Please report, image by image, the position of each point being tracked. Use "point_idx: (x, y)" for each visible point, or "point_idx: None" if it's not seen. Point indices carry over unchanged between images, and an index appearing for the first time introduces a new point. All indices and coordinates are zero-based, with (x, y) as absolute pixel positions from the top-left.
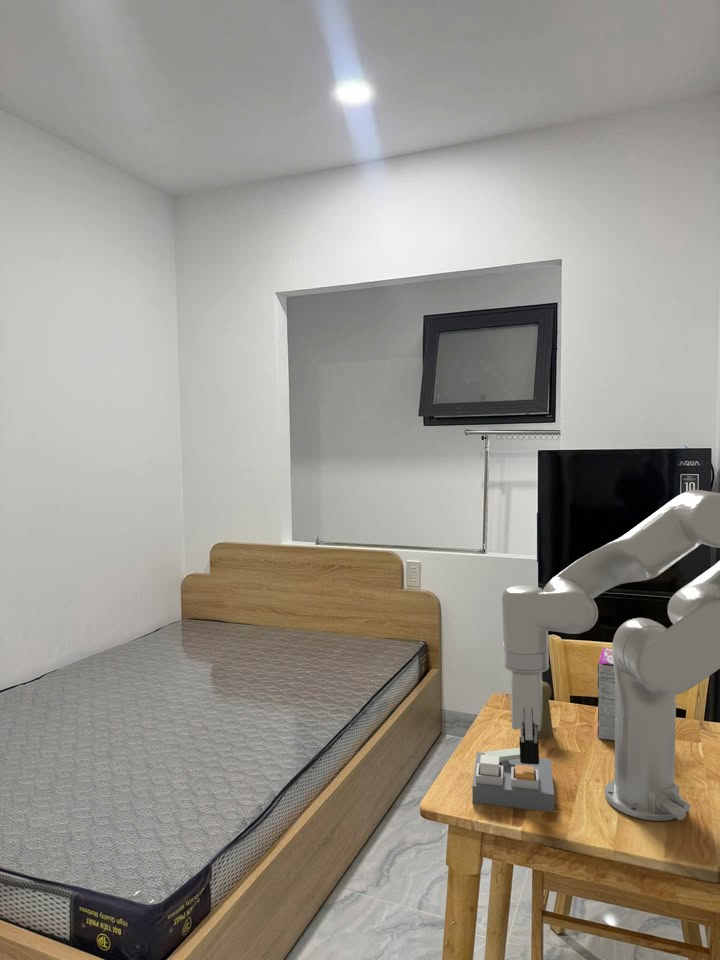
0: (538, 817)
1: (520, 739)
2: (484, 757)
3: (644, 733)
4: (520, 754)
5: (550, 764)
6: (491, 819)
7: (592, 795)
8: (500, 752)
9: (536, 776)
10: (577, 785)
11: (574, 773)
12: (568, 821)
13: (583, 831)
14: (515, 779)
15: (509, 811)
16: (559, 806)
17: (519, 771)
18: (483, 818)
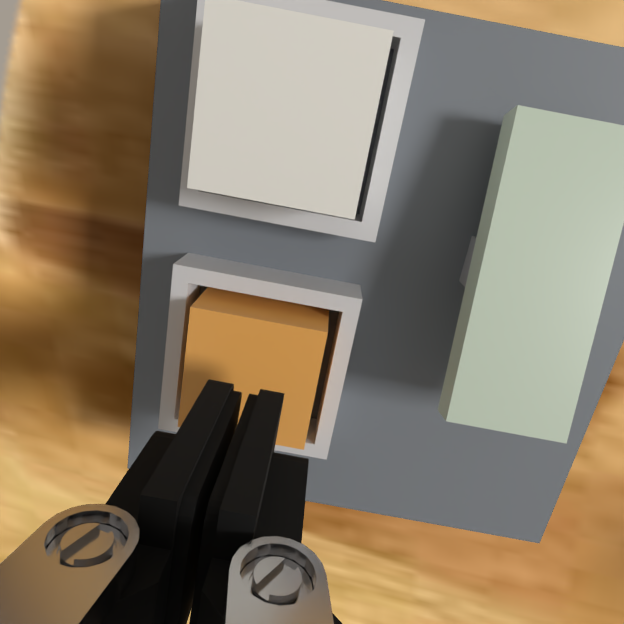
0: (104, 340)
1: (218, 510)
2: (329, 62)
3: None
4: (188, 413)
5: (470, 528)
6: (41, 95)
7: None
8: (564, 255)
9: None
10: (399, 561)
11: (511, 578)
12: (94, 454)
13: (30, 488)
14: (173, 293)
15: (137, 210)
16: None
17: (221, 341)
18: (42, 48)
